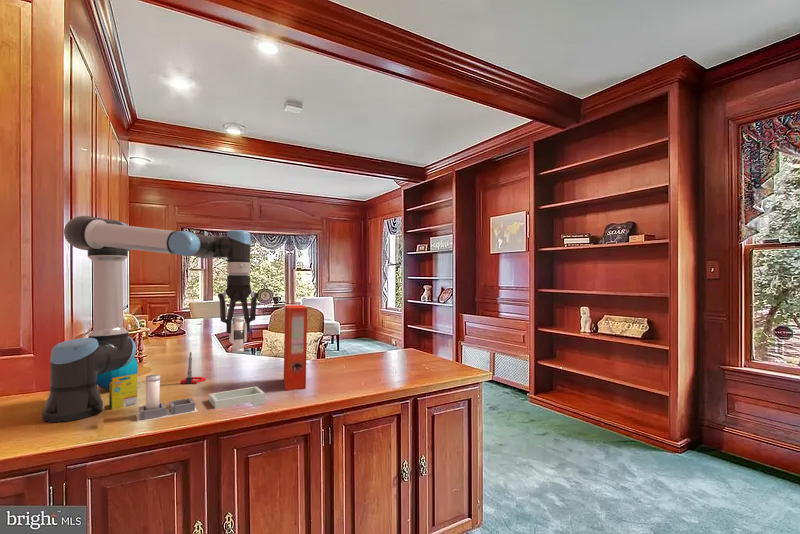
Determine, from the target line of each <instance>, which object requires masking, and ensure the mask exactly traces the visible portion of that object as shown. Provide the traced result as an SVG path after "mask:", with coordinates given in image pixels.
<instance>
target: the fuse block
mask: <svg viewBox="0 0 800 534" xmlns="http://www.w3.org/2000/svg"><path fill="white" fill-rule="evenodd" d="M138 408H139V410H138V413H136V414H135V415H136V420H137V421H136V422H137V423H140V422H145V421H151V420H158V419H163V418H164V419H165V418H168V417H174V416H175V417H176V416H180V415H185V414H190V413H191V414H192V413H197V412H198V409H197V408H196V402H195V401H194V399H193V398H191V397H190V398H184V399H183V398H182V399H179V400H177V399H176V400H172V401H169V402H168V408H167V407H166V404H165V402H161V403H159V408H158V409H152V410H146V404H145V405H142V406H139V407H138Z"/></svg>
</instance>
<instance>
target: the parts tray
mask: <svg viewBox="0 0 800 534" xmlns="http://www.w3.org/2000/svg"><path fill="white" fill-rule="evenodd" d="M208 401H209V403H210V404H211V405H212V407H213V408H214V409H220V408H225V407H231V406H232V407H233V406H238V405H245V404H249V403H250V404H251V405H253V407H255V406H256V407H257V406H260V405H261V404H262V405H265V404H266V393H265V392H264V391H263V390H262V389H260V388H259V387H258V386H257V385H256V386H251V387H244V388H238V389H232V390H225V391H220V392H213V393H209V394H208ZM262 405H261V406H262Z"/></svg>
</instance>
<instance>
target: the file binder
mask: <svg viewBox="0 0 800 534" xmlns="http://www.w3.org/2000/svg"><path fill="white" fill-rule="evenodd" d="M307 338H308V307H307V306H306V305H303V304H294V305H293V304H286V305H285V306H284V338H283V339H284V340H283V341H284V345H283V349H284V350H283V351H284V352H283V383H284V388H285V391H295V390H294V389H298V390H305V389H307V386H306V385H307V350H308V349H307V341H308V340H307Z"/></svg>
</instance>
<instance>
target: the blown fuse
mask: <svg viewBox="0 0 800 534" xmlns="http://www.w3.org/2000/svg"><path fill="white" fill-rule="evenodd" d="M244 322H245V319H244V316H236V317H234V316H233V317H232V324H234V343H231V344H232V348H231V353H232V354H241V353H244V352H245V348H244V346H245V345H244V343H245V342H244Z"/></svg>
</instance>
